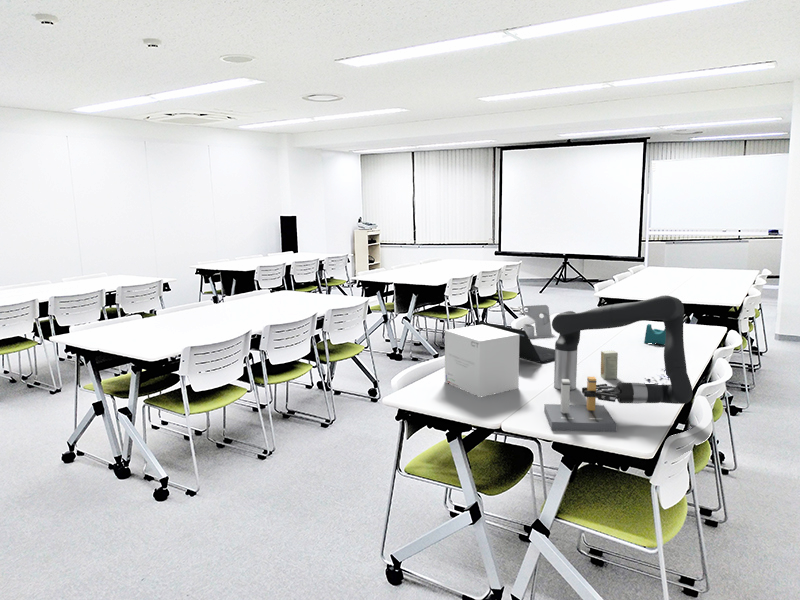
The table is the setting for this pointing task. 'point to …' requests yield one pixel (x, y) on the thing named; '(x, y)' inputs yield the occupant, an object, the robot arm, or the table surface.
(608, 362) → the skincare box
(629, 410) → the table surface
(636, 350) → the table surface
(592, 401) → the amber fader
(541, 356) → the laptop
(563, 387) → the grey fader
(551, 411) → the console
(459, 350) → the cube
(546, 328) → the phone holder
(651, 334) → the teal cradle stand
